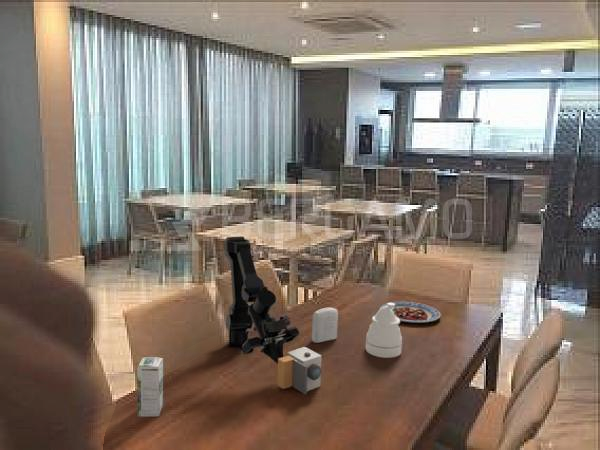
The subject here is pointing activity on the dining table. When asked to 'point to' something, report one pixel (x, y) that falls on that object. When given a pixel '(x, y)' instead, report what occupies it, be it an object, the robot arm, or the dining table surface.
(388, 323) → the honey pot
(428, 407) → the dining table surface
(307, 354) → the block
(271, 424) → the dining table surface
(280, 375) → the side door
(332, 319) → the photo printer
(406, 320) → the ceramic plate
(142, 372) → the syrup box
